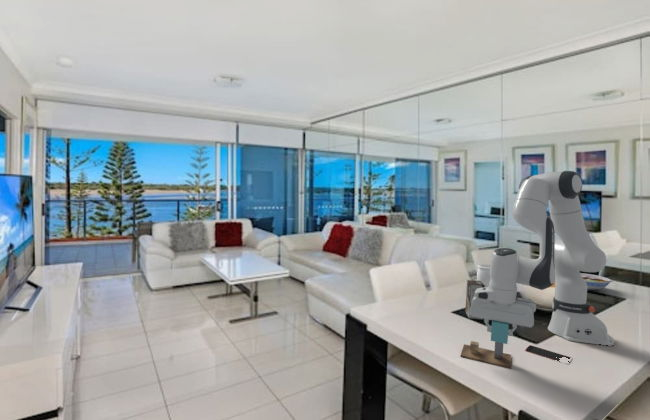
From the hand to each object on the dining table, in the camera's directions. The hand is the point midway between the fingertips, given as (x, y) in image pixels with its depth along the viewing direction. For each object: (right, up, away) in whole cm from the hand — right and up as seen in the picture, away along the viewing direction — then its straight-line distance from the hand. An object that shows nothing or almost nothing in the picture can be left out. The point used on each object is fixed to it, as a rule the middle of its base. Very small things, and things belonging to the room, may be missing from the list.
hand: (499, 333), depth 124 cm
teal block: (0, -2, 0) cm, 2 cm away
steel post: (0, -10, +1) cm, 10 cm away
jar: (+34, -5, +84) cm, 91 cm away
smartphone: (+21, -10, +5) cm, 24 cm away
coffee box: (+9, -7, +43) cm, 45 cm away
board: (-4, -9, +3) cm, 10 cm away
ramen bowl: (+102, -6, +95) cm, 140 cm away
